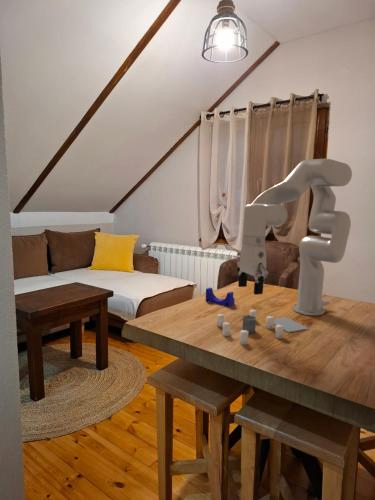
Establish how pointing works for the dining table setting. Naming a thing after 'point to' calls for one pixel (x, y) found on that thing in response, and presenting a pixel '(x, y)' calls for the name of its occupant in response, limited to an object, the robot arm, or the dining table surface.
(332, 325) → the dining table surface
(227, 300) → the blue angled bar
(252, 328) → the grey faceted polyhedron
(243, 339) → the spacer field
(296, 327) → the mat
